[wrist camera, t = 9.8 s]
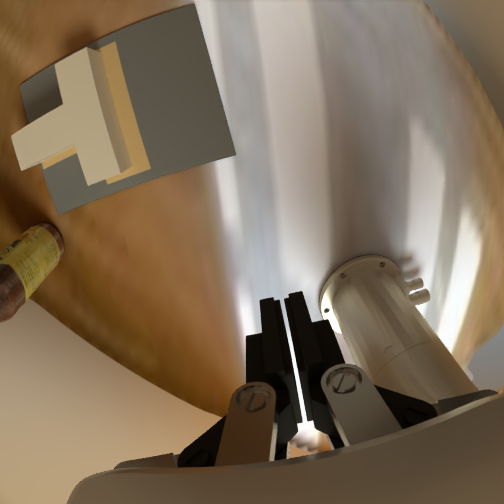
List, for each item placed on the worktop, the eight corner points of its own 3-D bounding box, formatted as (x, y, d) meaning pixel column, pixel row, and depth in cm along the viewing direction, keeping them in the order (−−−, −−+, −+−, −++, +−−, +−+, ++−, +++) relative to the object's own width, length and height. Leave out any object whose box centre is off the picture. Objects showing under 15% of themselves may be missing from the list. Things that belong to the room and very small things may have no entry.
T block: (101, 52, 25) (86, 47, 21) (132, 166, 31) (120, 173, 27) (21, 97, 26) (2, 99, 22) (51, 198, 32) (34, 209, 28)
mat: (194, 4, 24) (194, 3, 24) (235, 154, 32) (235, 155, 31) (21, 85, 25) (19, 85, 25) (59, 214, 33) (58, 214, 33)
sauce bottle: (42, 210, 32) (-60, 293, 15) (74, 243, 35) (-13, 344, 17) (23, 243, 34) (-64, 328, 16) (53, 273, 36) (-23, 371, 18)
